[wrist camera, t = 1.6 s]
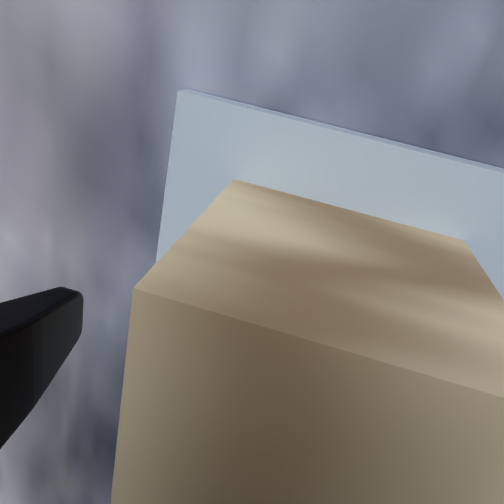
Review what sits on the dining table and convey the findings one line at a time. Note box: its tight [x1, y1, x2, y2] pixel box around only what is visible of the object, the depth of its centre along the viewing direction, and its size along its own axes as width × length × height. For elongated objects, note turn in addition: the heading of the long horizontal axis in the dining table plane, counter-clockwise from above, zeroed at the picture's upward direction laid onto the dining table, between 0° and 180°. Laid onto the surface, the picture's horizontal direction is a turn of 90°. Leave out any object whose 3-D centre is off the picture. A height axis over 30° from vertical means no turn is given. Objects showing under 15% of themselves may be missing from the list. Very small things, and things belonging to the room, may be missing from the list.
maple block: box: [110, 179, 504, 504], centre depth 8 cm, size 5×5×5 cm
